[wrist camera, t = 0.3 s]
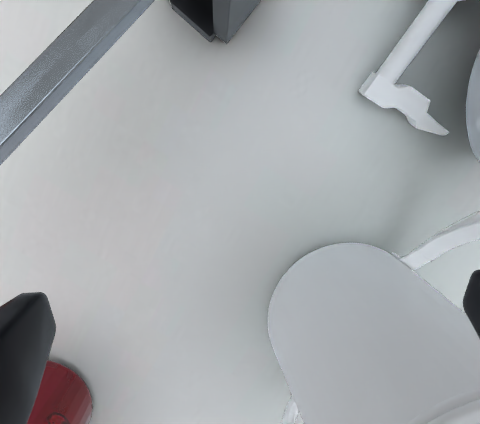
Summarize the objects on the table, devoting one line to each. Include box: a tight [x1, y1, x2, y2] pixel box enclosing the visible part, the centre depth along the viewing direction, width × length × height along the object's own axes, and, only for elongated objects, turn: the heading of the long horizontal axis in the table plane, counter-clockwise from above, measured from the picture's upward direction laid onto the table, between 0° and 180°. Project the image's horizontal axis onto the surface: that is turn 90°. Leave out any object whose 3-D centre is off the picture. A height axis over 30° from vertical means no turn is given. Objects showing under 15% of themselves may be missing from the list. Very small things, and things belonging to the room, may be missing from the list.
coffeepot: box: [268, 211, 480, 424], centre depth 17 cm, size 11×25×19 cm, turn 143°
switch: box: [0, 0, 155, 165], centre depth 13 cm, size 18×3×3 cm, turn 140°
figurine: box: [358, 0, 464, 136], centre depth 22 cm, size 8×6×12 cm
